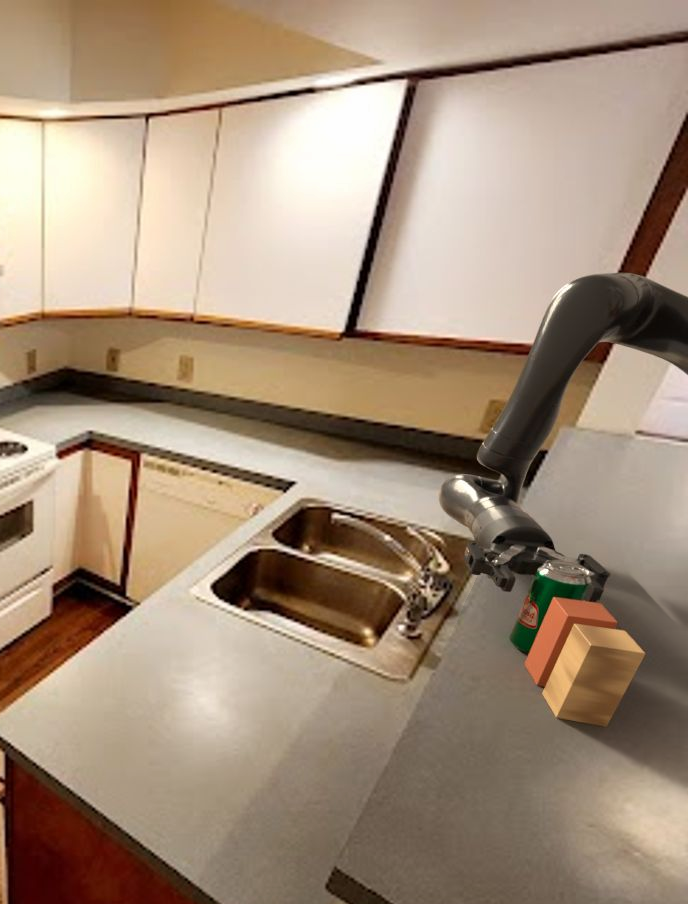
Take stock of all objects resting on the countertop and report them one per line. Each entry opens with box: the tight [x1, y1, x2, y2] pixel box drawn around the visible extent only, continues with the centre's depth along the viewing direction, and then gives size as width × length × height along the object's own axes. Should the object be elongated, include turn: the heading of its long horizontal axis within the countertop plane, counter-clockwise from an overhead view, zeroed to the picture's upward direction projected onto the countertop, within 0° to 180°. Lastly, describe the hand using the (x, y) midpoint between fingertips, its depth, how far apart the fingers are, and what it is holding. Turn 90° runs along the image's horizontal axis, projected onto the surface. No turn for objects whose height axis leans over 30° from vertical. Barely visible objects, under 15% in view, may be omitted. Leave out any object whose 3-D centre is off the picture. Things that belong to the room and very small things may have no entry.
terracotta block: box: [524, 597, 619, 688], centre depth 74 cm, size 4×4×10 cm
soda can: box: [509, 560, 592, 655], centre depth 79 cm, size 5×5×12 cm
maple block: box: [541, 624, 646, 728], centre depth 69 cm, size 4×4×10 cm
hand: (551, 591), depth 79 cm, fingers open, 8 cm apart
